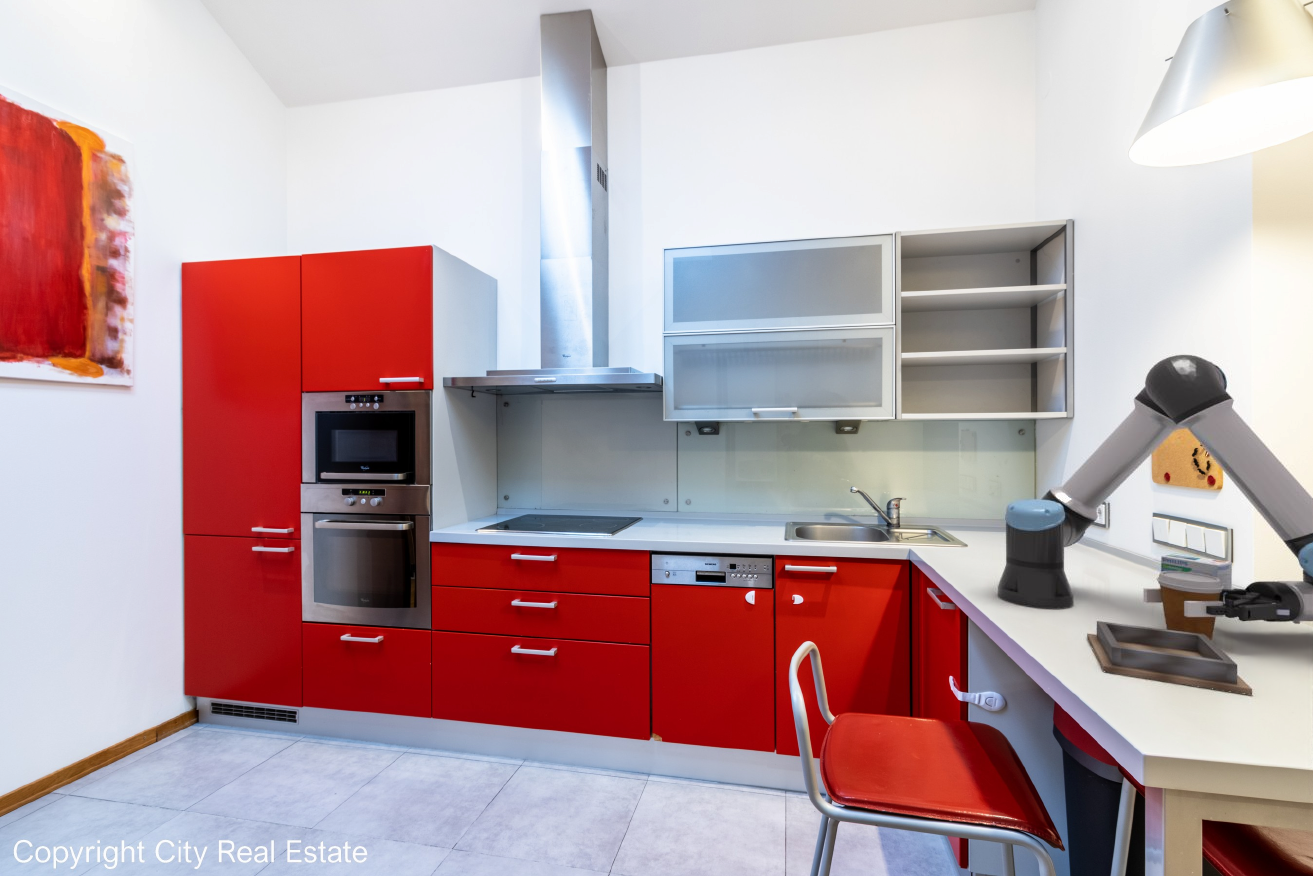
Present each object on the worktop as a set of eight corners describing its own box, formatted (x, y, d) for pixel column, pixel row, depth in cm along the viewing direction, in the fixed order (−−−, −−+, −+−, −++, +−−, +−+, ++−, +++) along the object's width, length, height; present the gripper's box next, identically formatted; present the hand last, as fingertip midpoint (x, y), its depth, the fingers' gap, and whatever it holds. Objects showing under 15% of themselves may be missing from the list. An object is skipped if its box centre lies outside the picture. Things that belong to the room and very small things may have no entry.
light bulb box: (1159, 600, 137) (1159, 555, 137) (1174, 597, 140) (1174, 552, 140) (1218, 613, 127) (1218, 564, 127) (1233, 609, 130) (1233, 561, 130)
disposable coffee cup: (1158, 640, 110) (1159, 577, 110) (1154, 626, 118) (1154, 568, 118) (1228, 651, 105) (1228, 585, 105) (1218, 636, 112) (1219, 574, 112)
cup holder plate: (1103, 671, 96) (1103, 648, 96) (1087, 638, 112) (1087, 617, 112) (1252, 695, 87) (1252, 669, 87) (1211, 655, 103) (1211, 633, 103)
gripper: (1347, 640, 101) (1218, 641, 101) (1227, 604, 122) (1120, 605, 122) (1347, 597, 101) (1218, 598, 101) (1227, 569, 122) (1120, 569, 122)
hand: (1164, 602), depth 111 cm, fingers closed on disposable coffee cup, 8 cm apart
